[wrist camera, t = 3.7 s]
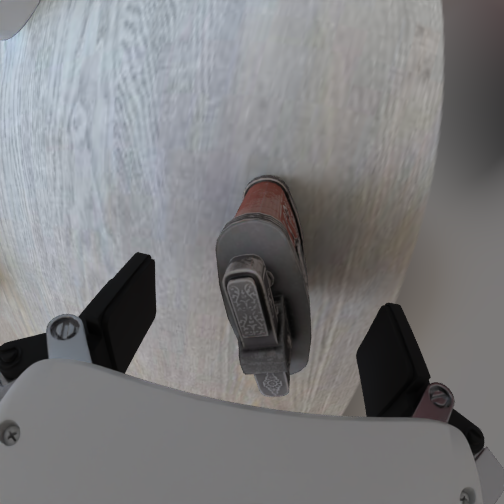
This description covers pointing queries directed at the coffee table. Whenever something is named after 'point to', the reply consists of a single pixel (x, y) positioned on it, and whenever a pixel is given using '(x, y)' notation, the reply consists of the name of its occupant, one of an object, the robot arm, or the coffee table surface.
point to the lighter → (266, 285)
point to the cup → (14, 16)
